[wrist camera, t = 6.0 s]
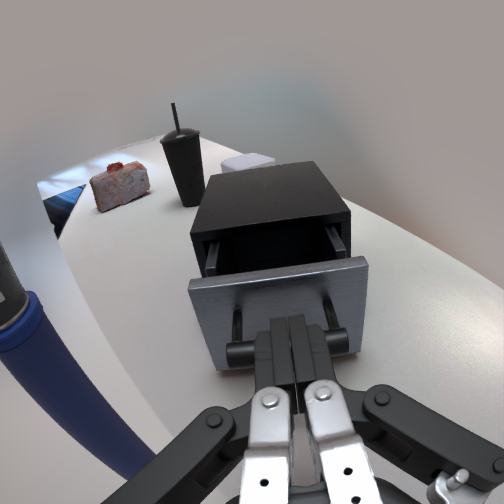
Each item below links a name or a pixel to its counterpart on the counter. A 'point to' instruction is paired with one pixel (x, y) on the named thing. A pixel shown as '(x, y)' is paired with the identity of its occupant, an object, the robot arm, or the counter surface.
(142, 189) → the food item
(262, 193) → the cabinet
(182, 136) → the drinking cup
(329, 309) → the drawer
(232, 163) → the charger
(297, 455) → the counter surface
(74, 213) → the counter surface
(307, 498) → the robot arm
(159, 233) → the counter surface
